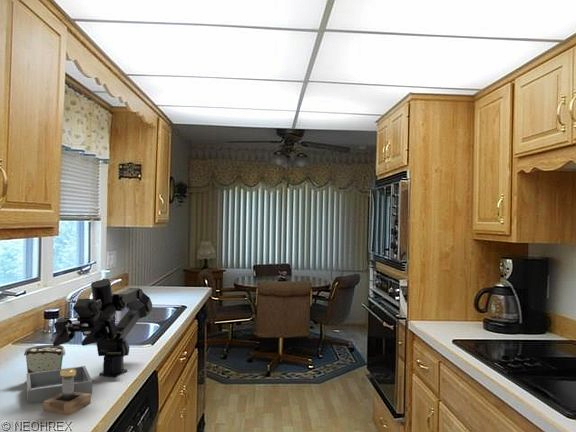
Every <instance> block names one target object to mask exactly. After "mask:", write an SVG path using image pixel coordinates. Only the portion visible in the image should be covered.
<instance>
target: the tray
mask: <svg viewBox="0 0 576 432" xmlns="http://www.w3.org/2000/svg"><path fill="white" fill-rule="evenodd" d="M68 368H69V367H67V368H66V367H65V368H61V369H58V370H50V371H42V372H35V373H27V372H26V387H25V388H26V400H27V405H30V404H31V405H32V404H37V403H44V401H46V400H48V399H50V398H52V397H54V396H56V395H58V394H60V393H62V384H60V385H52V386H45V387H38V388H34V387H36V386H40V385H45V384H46V385H47V384H53V383H54V384H55V383H59V382H60V383H62V377H60V371H61V370H63V369H68ZM72 368H74V369H76V375H75V376H74V381H75V380H81V379H82V381H79V382H74V392H80V393H88V394H91V395H92V394H93V380H92V378H91V375H90V373H89V371H88V370H87V367H86V365H82V366H75V367H72Z"/></svg>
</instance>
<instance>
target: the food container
mask: <svg viewBox="0 0 576 432" xmlns="http://www.w3.org/2000/svg"><path fill="white" fill-rule="evenodd" d="M65 355H66V350H65V348H64V346H63V345H62V344H61V345H58V346H55V347H54V346H53V344H41V345H35V346H31V347H28V348H25V351H24V354H23V356H25V359H26V360H25V361H26V370H27V371H26V374H27V373H35V372H42V371H50V370H58V369H62V368H63V367H62V366H63V358H64V356H65Z"/></svg>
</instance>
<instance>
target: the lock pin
mask: <svg viewBox="0 0 576 432" xmlns="http://www.w3.org/2000/svg"><path fill="white" fill-rule="evenodd" d="M67 368H68V369H65V368H62V369H63V370H61V371H60V377H62V381H61V385H62V401H68V402H69V401H71V400H73V399H74V383H75V380H74V376H75V375H76V369H74V368H73V367H67Z"/></svg>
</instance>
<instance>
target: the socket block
mask: <svg viewBox="0 0 576 432" xmlns="http://www.w3.org/2000/svg"><path fill="white" fill-rule="evenodd" d="M91 400H92V394H88V393H80V392H74V399H73V400H71V401H69V402H68V401H62V393H60V394H58V395H56V396H54V397H52V398H50V399H48V400H46V401H44V402H43V409H42V410H43V412H46V413H53V414H58V415H59V414H60V415H67V416H71V415H73V414H74V413H76V412H78V411H80V410H82V409H83V408H86V407H88V406H89V405H90V404H92V401H91Z"/></svg>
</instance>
